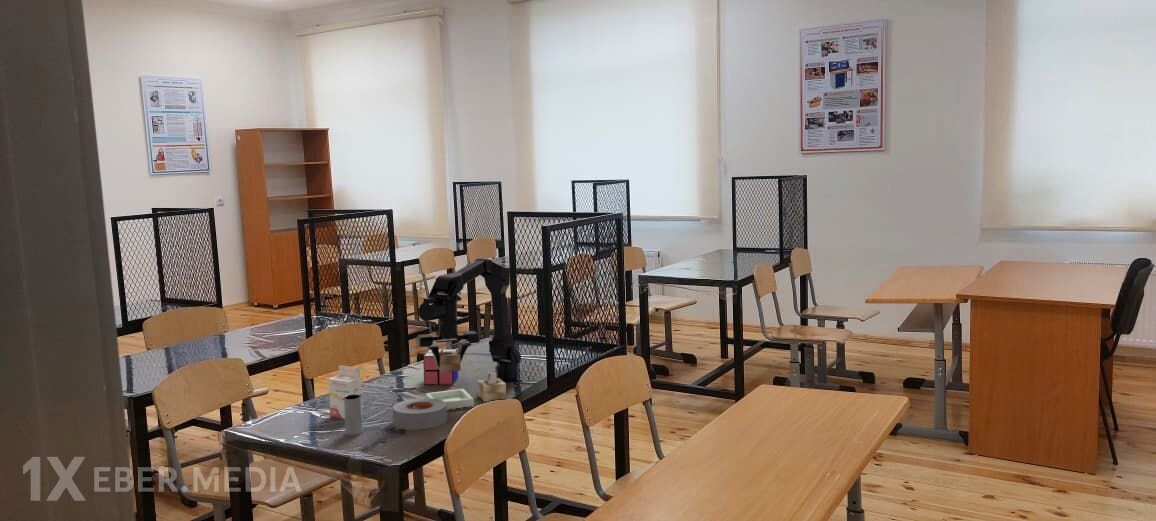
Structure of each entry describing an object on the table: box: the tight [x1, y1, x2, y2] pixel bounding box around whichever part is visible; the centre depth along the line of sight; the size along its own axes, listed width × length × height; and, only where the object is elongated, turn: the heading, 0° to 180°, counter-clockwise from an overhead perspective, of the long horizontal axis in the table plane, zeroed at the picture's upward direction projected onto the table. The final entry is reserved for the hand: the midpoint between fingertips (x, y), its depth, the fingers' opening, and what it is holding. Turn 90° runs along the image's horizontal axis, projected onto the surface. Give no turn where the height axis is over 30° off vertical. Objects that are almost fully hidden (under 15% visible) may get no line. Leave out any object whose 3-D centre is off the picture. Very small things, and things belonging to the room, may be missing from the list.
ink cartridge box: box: [328, 364, 363, 420], centre depth 238 cm, size 9×5×15 cm, turn 65°
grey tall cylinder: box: [344, 395, 363, 436], centre depth 224 cm, size 4×4×10 cm
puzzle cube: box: [422, 349, 459, 386], centre depth 276 cm, size 10×10×10 cm
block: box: [437, 351, 461, 372], centre depth 250 cm, size 6×6×5 cm
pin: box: [486, 371, 497, 385], centre depth 257 cm, size 3×3×8 cm
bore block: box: [477, 378, 507, 402], centre depth 257 cm, size 7×7×5 cm
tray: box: [425, 388, 475, 411], centre depth 250 cm, size 12×12×2 cm
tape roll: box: [392, 397, 448, 431], centre depth 234 cm, size 15×15×5 cm
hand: (448, 366), depth 251 cm, fingers closed on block, 6 cm apart
